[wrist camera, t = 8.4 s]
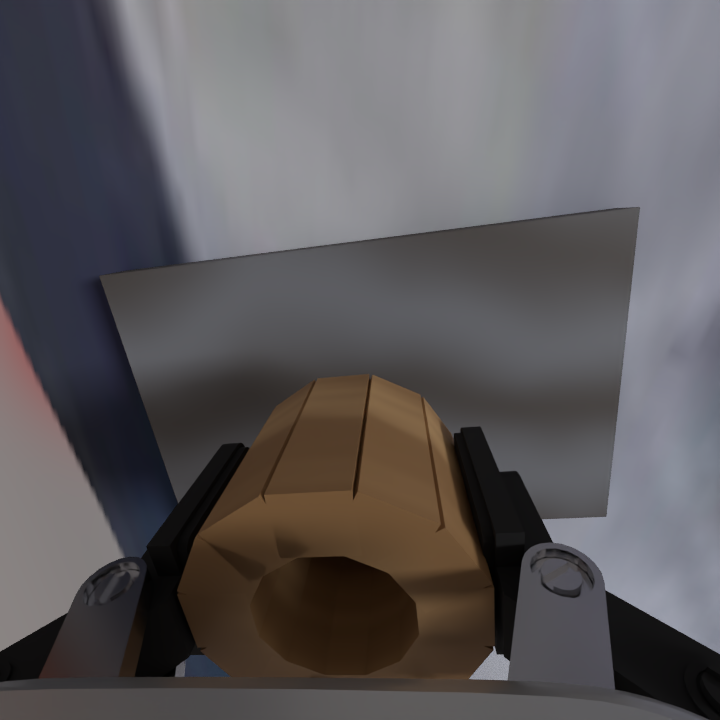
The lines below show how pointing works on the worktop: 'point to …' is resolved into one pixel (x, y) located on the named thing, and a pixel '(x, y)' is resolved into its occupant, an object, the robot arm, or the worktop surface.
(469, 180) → the worktop surface
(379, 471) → the bead
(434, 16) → the worktop surface
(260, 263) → the needle stand
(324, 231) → the worktop surface
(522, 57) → the worktop surface
